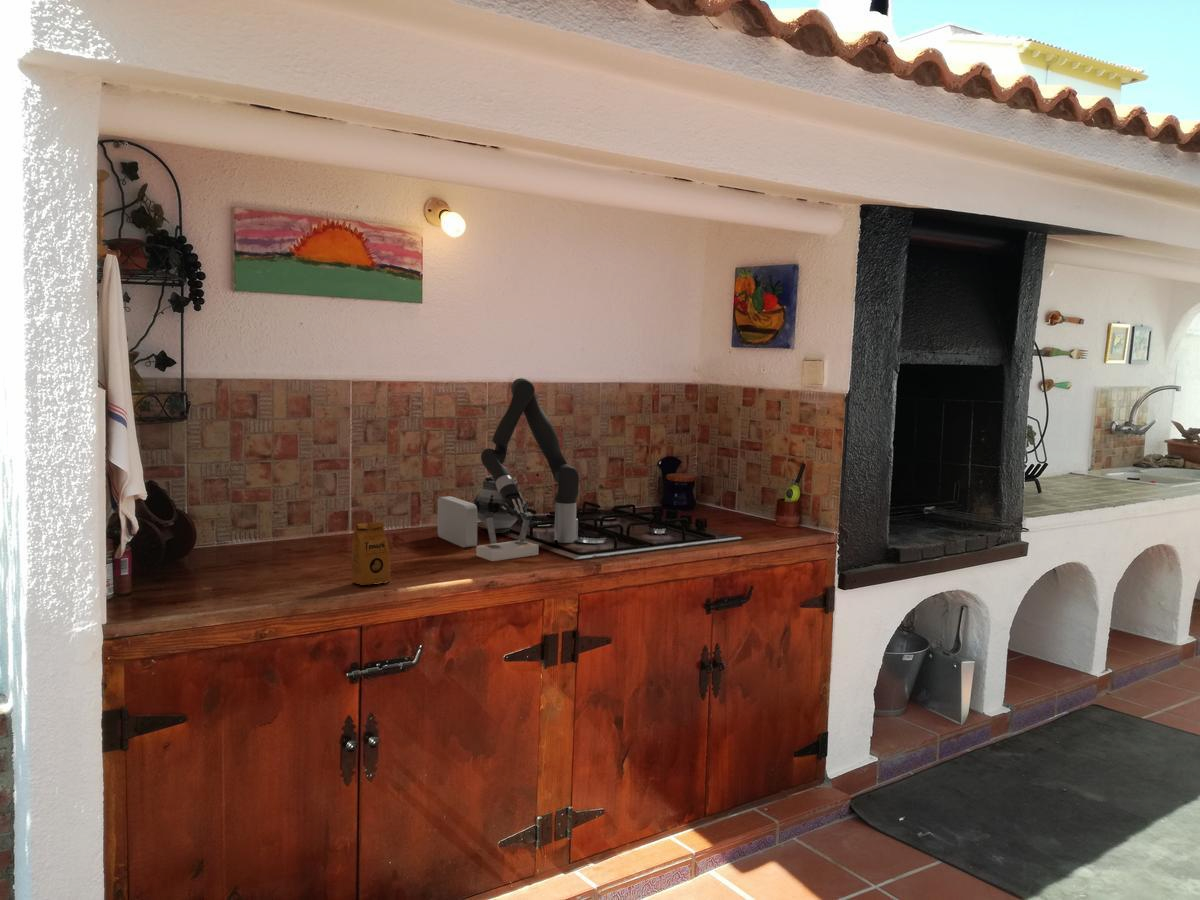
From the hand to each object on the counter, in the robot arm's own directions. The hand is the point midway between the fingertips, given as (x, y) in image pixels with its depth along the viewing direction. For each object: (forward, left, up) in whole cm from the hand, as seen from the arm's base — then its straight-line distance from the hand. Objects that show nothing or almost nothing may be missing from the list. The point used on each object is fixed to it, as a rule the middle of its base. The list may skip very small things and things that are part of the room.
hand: (523, 522), depth 391 cm
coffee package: (+72, +11, -13) cm, 74 cm away
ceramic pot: (-17, -47, -13) cm, 51 cm away
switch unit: (+7, -2, -13) cm, 15 cm away
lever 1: (+13, -2, -8) cm, 15 cm away
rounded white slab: (+11, -36, -13) cm, 39 cm away
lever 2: (0, -2, -8) cm, 8 cm away
